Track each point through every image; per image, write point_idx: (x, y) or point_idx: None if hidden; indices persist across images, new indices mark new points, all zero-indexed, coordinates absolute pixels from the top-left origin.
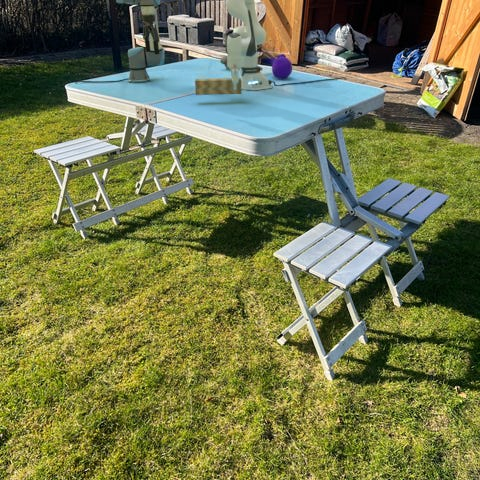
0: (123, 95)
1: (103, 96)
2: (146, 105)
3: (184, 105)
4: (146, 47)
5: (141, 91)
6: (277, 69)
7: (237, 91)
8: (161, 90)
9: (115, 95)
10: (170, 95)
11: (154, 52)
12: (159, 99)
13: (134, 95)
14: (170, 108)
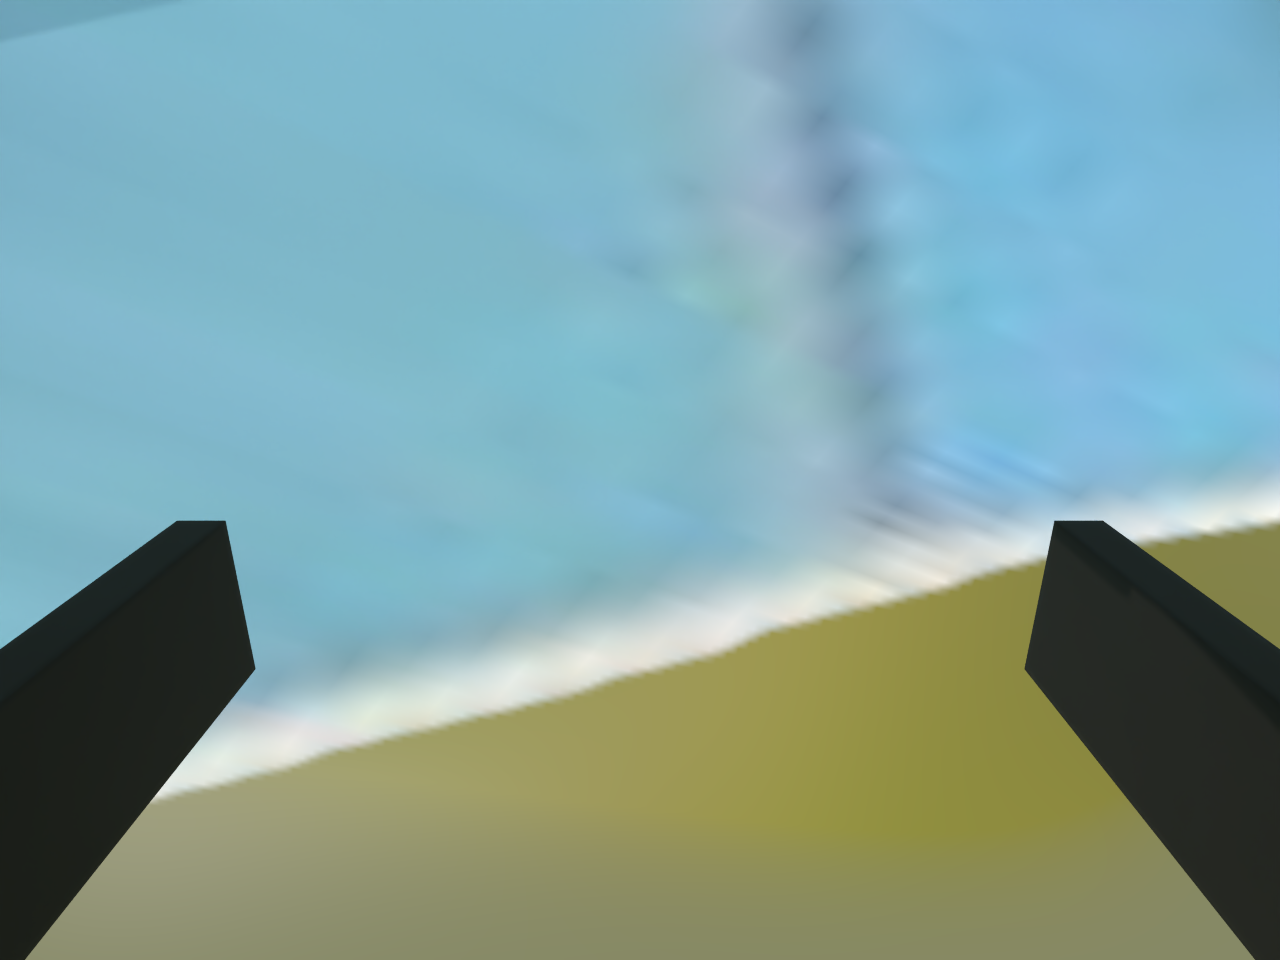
0: (249, 595)
1: (196, 768)
2: (885, 561)
3: (1234, 193)
4: (166, 761)
5: (111, 336)
6: None
7: None
8: (170, 49)
9: None
10: (582, 85)
11: (1058, 708)
12: (713, 325)
13: (314, 495)
14: (1212, 403)
